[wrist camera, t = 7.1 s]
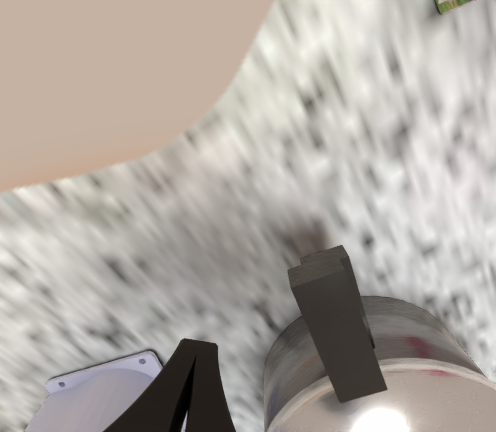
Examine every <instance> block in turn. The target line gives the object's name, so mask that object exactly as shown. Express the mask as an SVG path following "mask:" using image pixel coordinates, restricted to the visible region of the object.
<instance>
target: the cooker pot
mask: <svg viewBox="0 0 496 432" xmlns="http://www.w3.org/2000/svg"><path fill="white" fill-rule="evenodd" d="M334 253H336V254H337V256H338V258H339V260H340V261H341V263H342V265H343V267H344V269H345V272H346V275H347V277H348V280H349V283H350V286H351V288H352V291H353V294H354V297H355V300H356V302H357V305H358V308H359V311H360V314H361V316H362V319H363V322H364V325H365V327H366V330H367V333H368V336H369V339H370V341H371V344H372V347H373V350H374V352H375V355H376V358H377V360H384V359H394V358H420V359H432V360H437V361H443V362H448V363H452V364H455V365H458V366H462V367H465V368H468V369H470V370H472V371H474V372H476V373H479V374H481V375H483V376H484V377H486V376H485V375H484V374H483V373H482V371H481V370H480V369H479V368H478V367H477V365H476V364H475V363H474V362H473V360H472V359H471V358H470V357H469V356H468V354H467V353H466V352H465V351H464V350H463V348H462V347H461V346H460V345H459V344H458V342H457V341H456V340H455V339H454V338H453V336H452V335H451V334H450V333H449V332H448V330H447V329H446V328H445V327H444V326H443V325H442V324H441V323H440V322H439V321H438V320H437V319H436V318H435V317H434V316H432V315H431V314H429V313H428V312H427V311H425V310H423V309H421V308H419V307H417V306H415V305H413V304H410V303H407V302H405V301H401V300H397V299H393V298H387V297H378V296H361V297H360V293H359V290H358V286H357V283H356V279H355V276H354V273H353V269H352V266H351V262H350V259H349V256H348V254H347V253H346V251H345V249H344V247H343V246H342V245H341V246H337V247H334V248H331V249H328V250H324V251H321V252H318V253H315V254H312V255H308V256H305V257H302V258H300V261H301V265H303V264H306V263H309V262H312V261H315V260H317V259H320V258H323V257H326V256H329V255H332V254H334ZM326 376H328V374H327V372H326V370H325V367H324V365H323V363H322V360H321V358H320V356H319V353H318V351H317V348H316V346H315V344H314V341H313V339H312V337H311V334H310V332H309V330H308V327H307V325H306V323H305V320H304V318H303V316H301V317H300V318H298V319H297V320H296V321H294V322H293V323H292V324H291V325H290V326H288V327H287V328H286V329H285V331H284V332H283V333H282V334H281V335H280V336H279V337H278V339H277V340H276V342H275V343H274V344H273V346H272V348H271V350H270V352H269V354H268V357H267V360H266V363H265V367H264V374H263V385H264V426H265V432H267V430H268V428H269V426H270V424H271V423H272V421H273V420H274V418H275V417H276V415H277V414H278V413H279V411H280V410H281V409H282V408H283V407H284V406H285V405H286V404H287V403H288V402H289V401H290V400H291V399H292V398H293V397H294V396H296V395H297V394H298V393H299V392H301V391H302V390H303V389H305V388H306V387H308V386H309V385H311V384H313V383H314V382H316V381H317V380H319V379H322V378H324V377H326ZM486 378H487V377H486Z"/></svg>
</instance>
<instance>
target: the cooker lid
mask: <svg viewBox="0 0 496 432" xmlns="http://www.w3.org/2000/svg"><path fill="white" fill-rule="evenodd" d="M288 275H289V281H290V286H291V290H292V292H293V294H294V297H295V299H296V301H297V304H298V306H299V308H300V311H301V313H302V316H303V318H304V320H305V323H306V325H307V327H308V330H309V332H310V334H311V337H312V339H313V341H314V344H315V346H316V348H317V351H318V353H319V356H320V358H321V360H322V363H323V365H324V367H325V370H326V372H327V374H328V376H326V377H324V378H322V379H319V380H317V381H316V382H314V383H313V384H311V385H309V386H308V387H306V388H305V389H303V390H302V391H301V392H299V393H298V394H297V395H296V396H294V397H293V398H292V399H291V400H290V401H289V402H288V403H287V404H286V405H285V406H284V407H283V408H282V409H281V410H280V411H279V413H278V414H277V415H276V417H275V418H274V420H273V421H272V423H271V424H270V426H269V428H268V430H267V432H496V384H495V383H494V382H492V381H491V380H489V379H487V378H486V377H484V376H483V375H481V374H479V373H476V372H474V371H472V370H470V369H468V368H465V367H462V366H458V365H455V364H452V363H448V362H443V361H437V360H432V359H420V358H394V359H384V360H377V358H376V355H375V352H374V350H373V347H372V344H371V341H370V339H369V336H368V333H367V330H366V327H365V325H364V322H363V319H362V316H361V314H360V311H359V308H358V305H357V302H356V300H355V297H354V294H353V291H352V288H351V286H350V283H349V280H348V277H347V275H346V272H345V269H344V267H343V265H342V263H341V261H340V260H339V258H338V256H337V254H336V253H334V254H332V255H329V256H326V257H323V258H320V259H317V260H315V261H312V262H309V263H306V264H303V265H300V266H297V267H295V268H292V269H289V270H288Z"/></svg>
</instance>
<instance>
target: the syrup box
mask: <svg viewBox="0 0 496 432" xmlns="http://www.w3.org/2000/svg"><path fill="white" fill-rule="evenodd" d="M435 1H436V3H437V6H438V8H439V11H440V13H441V14H445V13H448V12H450V11H452V10H455V9H457V8H459V7H461V6H464V5H466V4H468V3H471V2H473V1H475V0H435Z"/></svg>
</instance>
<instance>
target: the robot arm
mask: <svg viewBox="0 0 496 432" xmlns="http://www.w3.org/2000/svg"><path fill="white" fill-rule="evenodd" d="M142 359H144V360H142ZM63 382H64V383H63ZM45 388H46V390H47V391H48V393H49V394H50V395H49V396H48V398H47V399H46V400H45V402H44V403H43V405H42V406H41V408H40V409H39V410H38V412H37V413H36V415H35V416H34V418H33V419H32V420H31V422H30V423H29V425H28V426H27V428H26V429H25V430H24V432H181V431H182V430H185V432H236V430H235V428H234V425H233V422H232V419H231V416H230V413H229V409H228V406H227V402H226V399H225V395H224V391H223V386H222V381H221V376H220V371H219V363H218V346H217V344H216V343H210V342H204V341H198V340H192V339H185V338H184V339H182V340H181V341H180V343H179V345H178V347H177V349H176V350H175V352H174V353H173V355H172V356H171V358H170V359H169V361H168V362H167V363H166V365H165V366H164V367H162V366H161V364H160V362H159V360H158V358H157V357H156V355H155V354H154V353H153V352H151V351H146V352H143V353H140V354H136V355H133V356H129V357H126V358H122V359H119V360H115V361H112V362H108V363H105V364H102V365H98V366H95V367H91V368H88V369H84V370H81V371H77V372H74V373H70V374H67V375H64V376H60V377H57V378H53V379H50V380H48V381H47V383H46V384H45ZM187 410H188V411H187Z"/></svg>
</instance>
